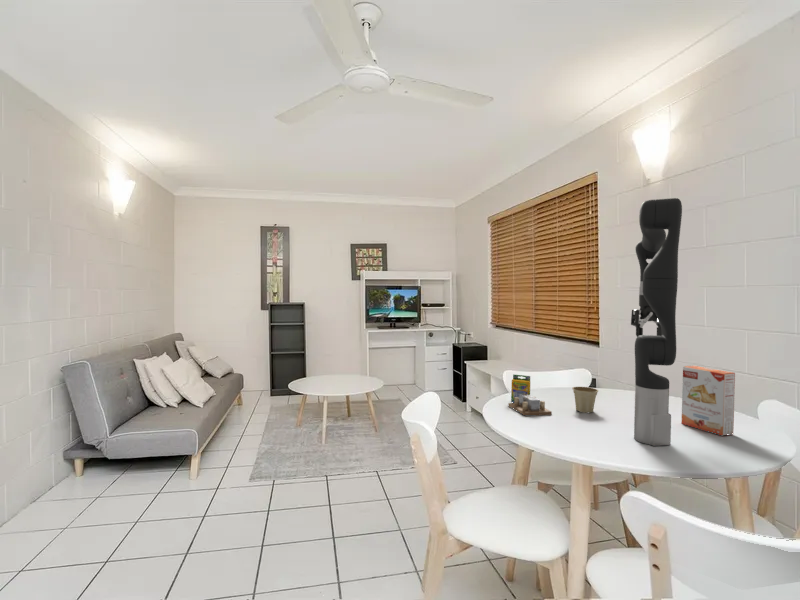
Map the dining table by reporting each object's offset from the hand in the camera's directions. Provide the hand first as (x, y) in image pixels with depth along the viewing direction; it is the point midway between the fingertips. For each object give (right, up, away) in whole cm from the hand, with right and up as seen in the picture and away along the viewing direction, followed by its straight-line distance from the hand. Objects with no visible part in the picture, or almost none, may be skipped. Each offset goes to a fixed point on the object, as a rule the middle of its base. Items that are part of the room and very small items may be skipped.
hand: (649, 337), depth 159 cm
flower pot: (-20, -30, +9) cm, 37 cm away
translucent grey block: (-42, -28, +9) cm, 51 cm away
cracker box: (+12, -31, -12) cm, 35 cm away
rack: (-42, -29, +9) cm, 52 cm away
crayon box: (-43, -29, +19) cm, 55 cm away
